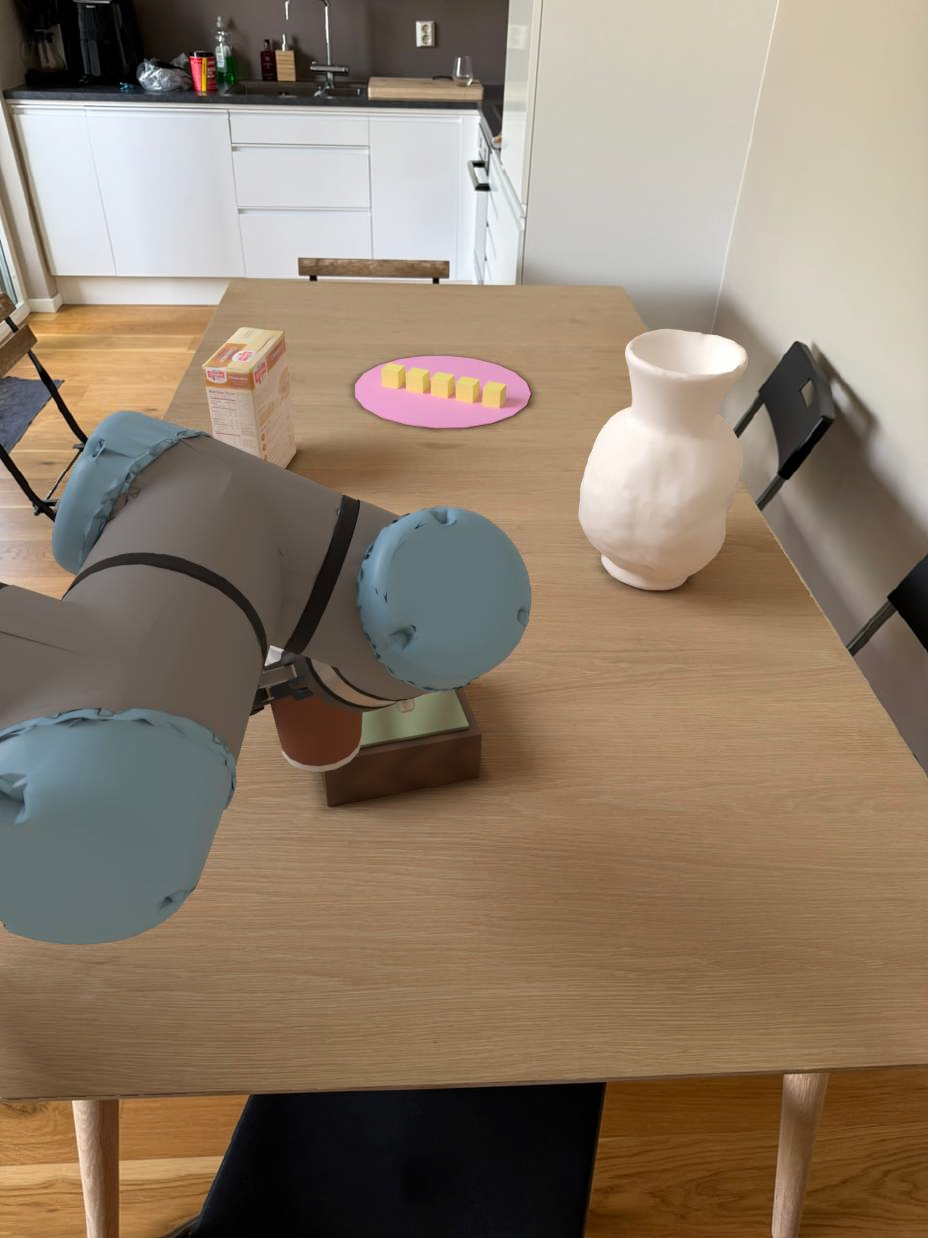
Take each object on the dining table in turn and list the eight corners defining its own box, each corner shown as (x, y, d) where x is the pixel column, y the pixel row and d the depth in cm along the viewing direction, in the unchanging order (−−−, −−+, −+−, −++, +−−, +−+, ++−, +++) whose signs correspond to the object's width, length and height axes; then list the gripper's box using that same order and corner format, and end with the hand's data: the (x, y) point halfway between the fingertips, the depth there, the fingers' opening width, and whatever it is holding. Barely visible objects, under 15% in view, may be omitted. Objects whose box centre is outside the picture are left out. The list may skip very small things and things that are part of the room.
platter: (496, 442, 145) (497, 423, 143) (322, 407, 154) (320, 389, 152) (552, 373, 169) (554, 356, 167) (399, 346, 178) (398, 329, 176)
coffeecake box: (255, 447, 141) (239, 325, 130) (298, 452, 141) (286, 329, 129) (219, 493, 130) (199, 364, 118) (266, 498, 129) (251, 369, 117)
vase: (556, 600, 111) (583, 370, 93) (590, 517, 127) (619, 307, 109) (707, 632, 107) (766, 397, 89) (722, 542, 123) (775, 327, 105)
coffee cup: (324, 688, 76) (313, 573, 69) (401, 738, 72) (399, 621, 65) (239, 745, 71) (218, 626, 63) (318, 804, 66) (305, 683, 59)
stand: (327, 807, 84) (323, 760, 80) (305, 701, 95) (300, 656, 91) (479, 777, 88) (482, 731, 84) (440, 679, 99) (441, 634, 95)
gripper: (196, 765, 46) (179, 770, 67) (556, 654, 54) (441, 689, 75) (156, 627, 47) (152, 674, 67) (519, 537, 55) (416, 604, 76)
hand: (305, 682), depth 71 cm, fingers closed on coffee cup, 9 cm apart
